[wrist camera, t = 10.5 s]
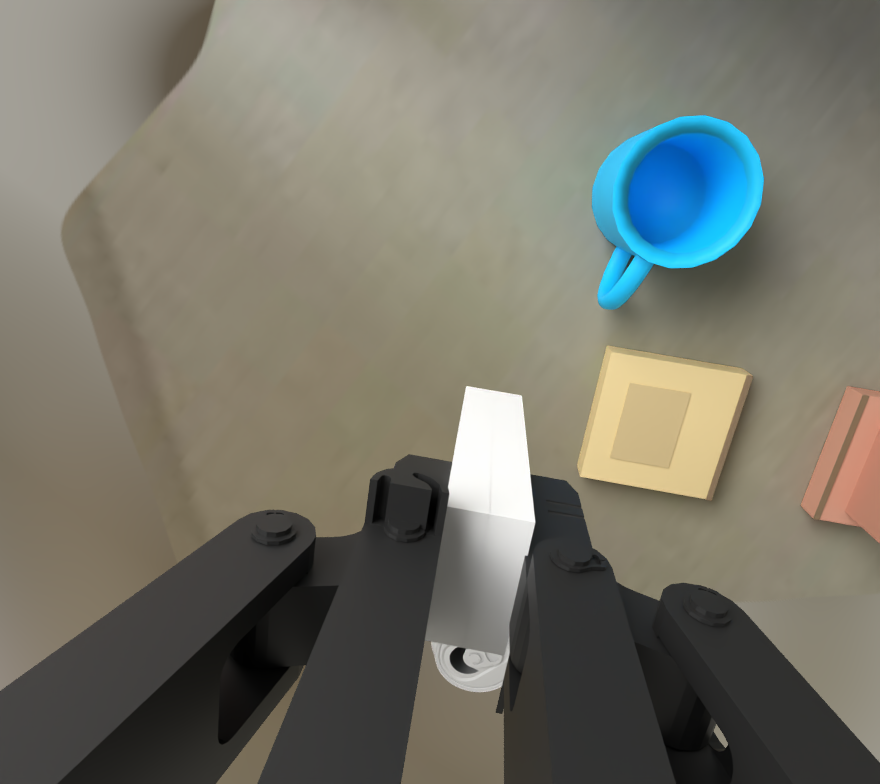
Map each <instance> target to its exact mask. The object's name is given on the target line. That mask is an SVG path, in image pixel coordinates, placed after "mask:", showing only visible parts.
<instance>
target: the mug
mask: <svg viewBox="0 0 880 784" xmlns="http://www.w3.org/2000/svg"><path fill="white" fill-rule="evenodd" d="M763 183H764V177H763V172H762V167H761V163H760V158H759V155H758V153H757V152H756V150H755V149H754V147H753V145H752V144H751V142H750V140H749V139H748V137H747V136H746V135H745V134H743V133H742V132H741V131H739V130H738V129H737V128H735V127H734V126H733V125H731V124H730V123H729V122H726V121H723V120H720V119H716V118H713V117H709V116H706V115H703V116H685V117H679V118H676V119H674V120H671V121H669V122H666V123H663V124H661V125H658V126H656V127H654V128H652V129H649V130H647V131H645V132H643V133H640V134H638V135H636V136H634V137H632V138H629V139H627V140H626V141H625V142H623V143H622V144H621V145H620V146H618V147H617V148H616V149H615V150H613V151H612V152H611V153H610V154H609V156H608V157H607V159H606V160H605V161H604V163H603V164H602V166H601V167H600V168H599V171H598V174H597V177H596V180H595V182H594V185H593V190H592V209H593V213H594V216H595V220H596V223H597V226H598V227H599V229H600V230H601V232H602V233H603V234H604V236H605V237H606V239H607V240H608V241H610V242H611V243H612V244H614V245H615V246H617V247H616V248H615V250H614V252H613V254H612V256H611V259H610V261H609V263H608V265H607V267H606V270H605V272H604V275H603V278H602V280H601V283H600V286H599V290H598V295H597V296H598V303H599V305H600V306H601V307H602V308H604V309H608V310H614V309H617V308H619V307H620V306H621V305H623V304H624V303H625V302H626V301H627V300H628V299H629V298H630V297H631V295H632V294H633V293H634V292H635V291H636V290H637V288H638V287H639V285H640V284H641V283H642V281H643V280H644V278H645V277H646V276H647V274H648V273H649V271H650V270H651V268H652V266H653V265H654V264H657V265H660V266H664V267H667V268H692V267H695V266H698V265H701V264H704V263H707V262H710V261H713V260H715V259H717V258H718V257H720V256H721V255H723V254H724V253H726V252H727V251H728V250H730V249H731V248H733V247H734V246H735V245H736V244H737V243H738V242H739V241H740V239H741V238H742V237H743V236H744V235H745V233H746V232H747V231H748V230H749V228H750V227H751V226H752V223H753V221H754V219H755V216H756V214H757V212H758V210H759V207H760V205H761V200H762V192H763ZM632 255H634V256H635V257H634V259H633V260H632V262H631V264H630V265H629V267H628V268H627V270H626V271H625V273H624V274H623V272H624V270H625V268H626V266H627V263H628V261H629V259H630V257H631V256H632ZM622 274H623V275H622Z"/></svg>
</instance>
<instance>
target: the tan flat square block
mask: <svg viewBox="0 0 880 784" xmlns="http://www.w3.org/2000/svg"><path fill="white" fill-rule="evenodd" d="M752 379H753V376H752V375H751V374H749V373H748V372H746V371H745V370H744V369H742V368H737V367H732V366H726V365H720V364H714V363H708V362H702V361H696V360H690V359H684V358H678V357H672V356H667V355H661V354H655V353H649V352H643V351H637V350H631V349H625V348H619V347H613V346H607V347H606V351H605V355H604V359H603V363H602V367H601V371H600V375H599V379H598V383H597V387H596V391H595V395H594V399H593V404H592V408H591V412H590V416H589V420H588V424H587V428H586V432H585V436H584V440H583V444H582V448H581V452H580V456H579V460H578V464H577V467H578V471H579V474H580V477H585V478H590V479H596V480H602V481H607V482H613V483H618V484H624V485H630V486H635V487H641V488H646V489H652V490H657V491H663V492H669V493H674V494H680V495H685V496H691V497H697V498H702V499H706V500H710V501H712V498H713V495H714V492H715V489H716V486H717V483H718V480H719V477H720V474H721V471H722V468H723V465H724V462H725V459H726V456H727V453H728V450H729V447H730V444H731V441H732V438H733V435H734V432H735V429H736V427H737V424H738V421H739V418H740V415H741V412H742V409H743V406H744V403H745V400H746V397H747V394H748V391H749V388H750V385H751V382H752Z"/></svg>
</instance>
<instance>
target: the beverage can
mask: <svg viewBox="0 0 880 784" xmlns="http://www.w3.org/2000/svg"><path fill="white" fill-rule="evenodd" d="M431 645H432V651H433V654H434V656H435V661H436V665H437V667H438V670H439V671H440V673H441V674H442V676H443V677H444V678H445V679H446V680H447V681H449V682H450V683H451V684H453V685H454V686H456V687H458V688H461V689H463V690H467V691H472V692H487V691H492V690H495V689H498V688H500V687H502V683H503V679H504V675H505V670H506V666H507V662H508V658H509V653H510V643H509V638H508V643H507V647H506V651H505V656H503V655H497V654H492V653H487V652H482V651H477V650H472V649H466V648H461V647H456V646H451V645H446V644H441V643H435V642H431Z"/></svg>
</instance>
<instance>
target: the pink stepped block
mask: <svg viewBox="0 0 880 784" xmlns="http://www.w3.org/2000/svg"><path fill="white" fill-rule="evenodd" d="M801 506H802V507H803V509H804V510H805V511H806V512H807V513H808V514H809V515H810V516H811V517H812V518H813V519H816V520H825V521H830V522H836V523H842V524H847V525H853V526H858V527H862V528H863V529H864V530H865V531H867V532H868V533H869V534H870V535H871V536H872V537H873V538H874V539H875V540H876V541H877V542H879V543H880V392H879V391H873V390H867V389H862V388H856V387H850V386H847V388H846V390H845V393H844V396H843V398H842V401H841V403H840V406H839V408H838V411H837V413H836V416H835V419H834V421H833V424H832V426H831V429H830V431H829V434H828V436H827V439H826V442H825V444H824V447H823V449H822V452H821V454H820V457H819V459H818V462H817V465H816V467H815V470H814V472H813V475H812V477H811V480H810V482H809V485H808V488H807V490H806V493H805V495H804V498H803V500H802V503H801Z"/></svg>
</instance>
